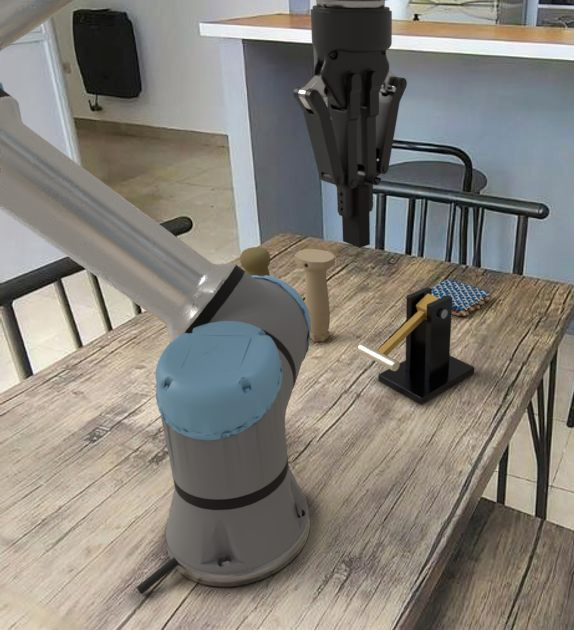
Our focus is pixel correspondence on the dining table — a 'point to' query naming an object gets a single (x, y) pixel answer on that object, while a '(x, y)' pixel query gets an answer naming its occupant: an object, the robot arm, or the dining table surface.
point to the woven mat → (461, 296)
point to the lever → (397, 336)
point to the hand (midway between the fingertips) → (356, 242)
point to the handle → (316, 289)
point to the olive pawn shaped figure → (255, 261)
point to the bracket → (427, 353)
